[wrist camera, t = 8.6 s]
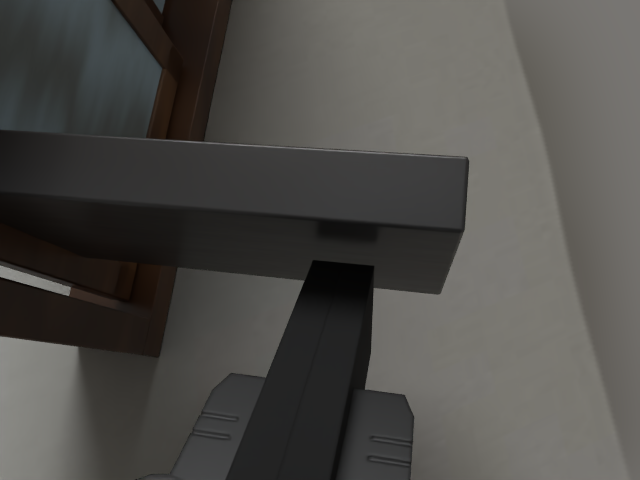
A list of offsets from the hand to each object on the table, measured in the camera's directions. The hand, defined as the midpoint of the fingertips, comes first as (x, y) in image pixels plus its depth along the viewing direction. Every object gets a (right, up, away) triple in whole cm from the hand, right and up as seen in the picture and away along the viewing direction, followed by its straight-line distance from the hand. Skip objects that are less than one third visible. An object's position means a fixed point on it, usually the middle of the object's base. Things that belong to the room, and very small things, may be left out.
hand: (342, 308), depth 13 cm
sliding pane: (-2, +4, +9) cm, 10 cm away
